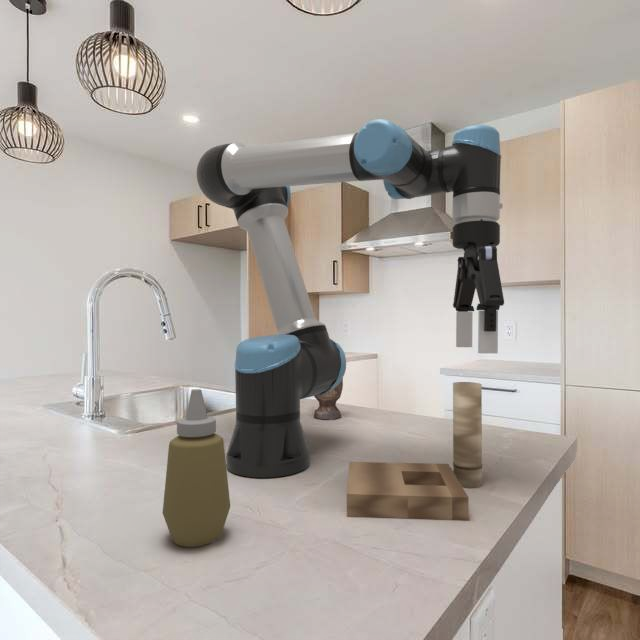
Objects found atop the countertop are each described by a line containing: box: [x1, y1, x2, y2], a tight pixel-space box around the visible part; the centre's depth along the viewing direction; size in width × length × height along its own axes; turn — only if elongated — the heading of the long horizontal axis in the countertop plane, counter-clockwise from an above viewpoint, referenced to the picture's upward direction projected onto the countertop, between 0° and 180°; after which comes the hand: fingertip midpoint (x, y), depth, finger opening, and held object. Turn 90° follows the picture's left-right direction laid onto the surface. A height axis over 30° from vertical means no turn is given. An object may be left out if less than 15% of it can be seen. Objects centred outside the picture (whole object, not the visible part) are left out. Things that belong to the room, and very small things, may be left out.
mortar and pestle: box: [313, 377, 344, 421], centre depth 125 cm, size 12×9×20 cm
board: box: [346, 461, 470, 521], centre depth 68 cm, size 16×14×3 cm
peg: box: [452, 381, 483, 489], centre depth 74 cm, size 4×4×16 cm
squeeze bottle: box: [162, 388, 231, 548], centre depth 56 cm, size 8×8×18 cm
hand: (474, 350), depth 77 cm, fingers open, 13 cm apart
